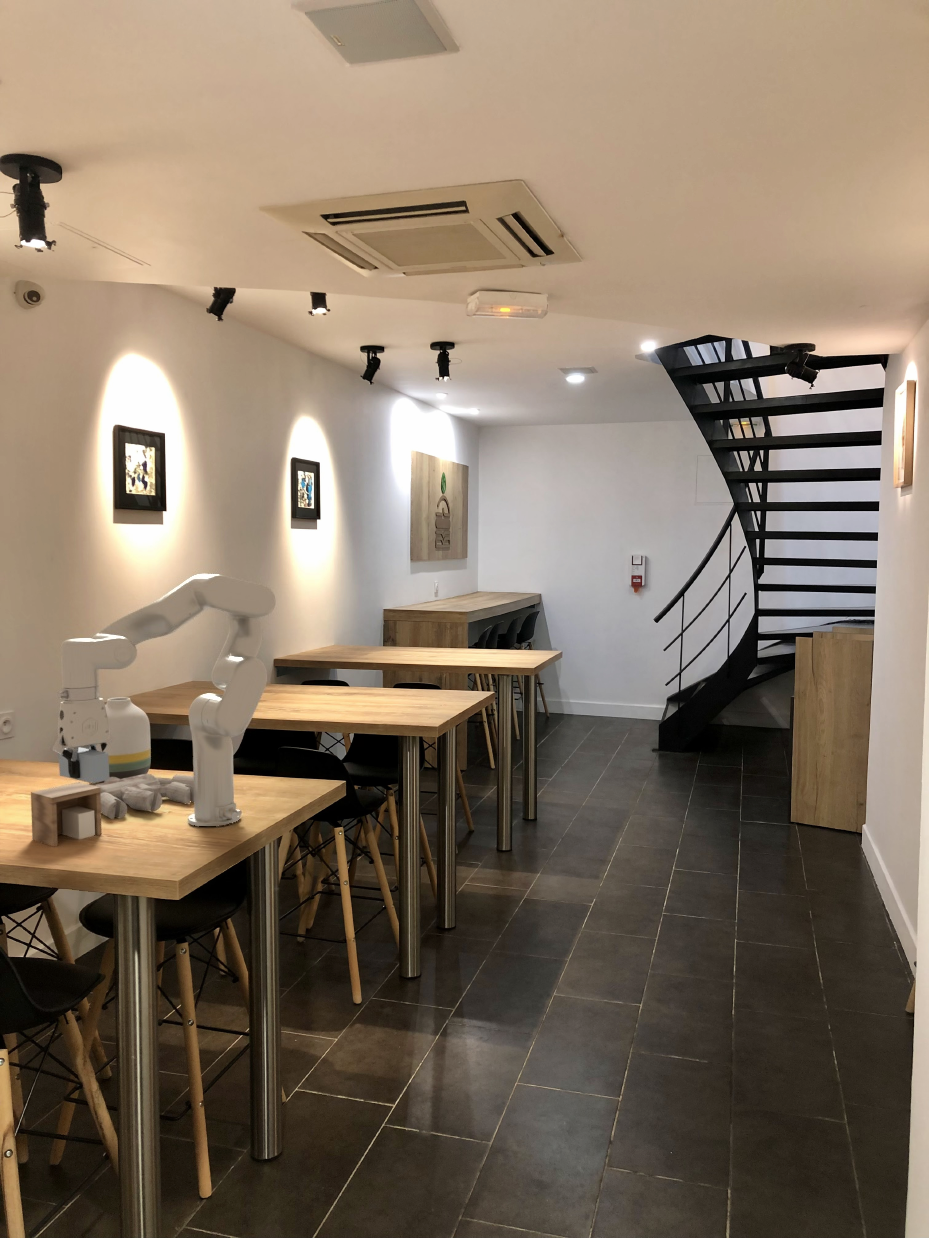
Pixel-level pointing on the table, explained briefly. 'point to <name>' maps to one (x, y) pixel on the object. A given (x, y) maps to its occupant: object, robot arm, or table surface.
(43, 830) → the open wooden box
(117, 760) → the vase
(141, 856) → the table surface
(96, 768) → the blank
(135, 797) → the white branched piece
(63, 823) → the block
